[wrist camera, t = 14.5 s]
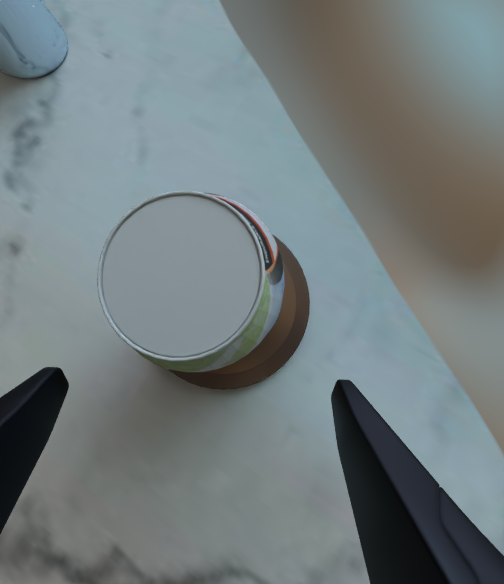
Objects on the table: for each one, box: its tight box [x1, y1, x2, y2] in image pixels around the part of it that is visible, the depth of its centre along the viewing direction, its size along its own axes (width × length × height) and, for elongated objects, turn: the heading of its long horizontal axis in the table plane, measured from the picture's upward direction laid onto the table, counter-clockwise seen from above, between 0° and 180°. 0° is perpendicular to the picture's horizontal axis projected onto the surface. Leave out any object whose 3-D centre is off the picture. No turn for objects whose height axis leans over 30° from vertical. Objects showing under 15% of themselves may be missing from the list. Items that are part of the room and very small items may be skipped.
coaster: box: [169, 235, 310, 389], centre depth 20 cm, size 12×12×1 cm
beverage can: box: [97, 191, 284, 372], centre depth 13 cm, size 6×7×12 cm
